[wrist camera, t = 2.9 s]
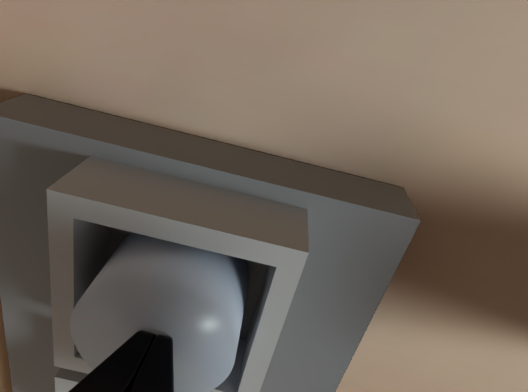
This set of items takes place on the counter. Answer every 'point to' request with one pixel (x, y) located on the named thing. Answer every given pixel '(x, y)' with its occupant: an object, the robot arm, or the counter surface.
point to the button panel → (188, 240)
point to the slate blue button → (166, 307)
